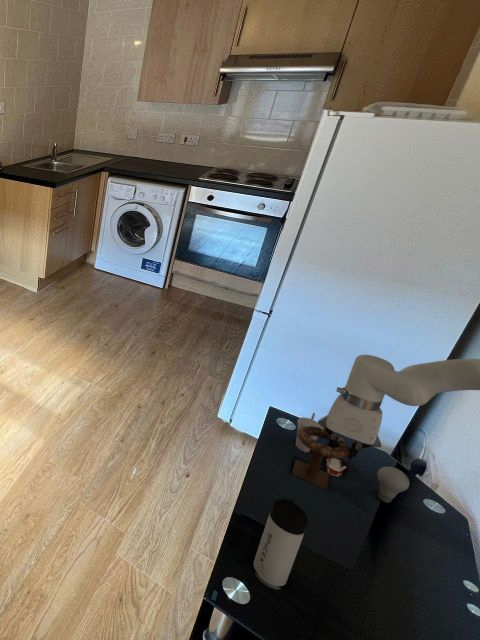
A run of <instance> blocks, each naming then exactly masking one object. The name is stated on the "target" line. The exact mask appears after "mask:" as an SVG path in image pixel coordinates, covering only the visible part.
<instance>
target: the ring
mask: <svg viewBox="0 0 480 640" xmlns="http://www.w3.org/2000/svg"><path fill="white" fill-rule="evenodd" d="M297 430H298V433H297V432H296V437H297V436H298V438H299V439H300V440H301V442H302V443H303V444H304V445H305V446H306V447H308V448H309V449H311V450H310V451H312V452H313V451H314V452H316V453H318V454H320V455H323V457H324V458H328V457H329V458H334V459H338V460H342V459H345V458H348V456H349V453H350V446H349V445H348V443H347V442H346V441H345V440H344V439H343V437H340V436H339V435H338V436H337V437H338V440H337V444H336V447H335V448H332V447H329V446H328V445H324V444H322V443H320V442H318V441H317V440H316V441H315V440H313V439H312V438H311V437H310V436H317V437H318V438H320V439H323V440H324V441H327V442H329V440H330V435H329V434H328V433H327V432H326V430H325V429H324V428H320V427H315V426H303V427H300V428H299V429H298V428H297Z"/></svg>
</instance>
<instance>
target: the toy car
mask: <svg viewBox="0 0 480 640" xmlns="http://www.w3.org/2000/svg"><path fill="white" fill-rule="evenodd" d="M324 458H325V459H324V460H325V463H326V464H325V466H326V467H325V468H324V469H325V471H326V473H328V474H329V475H331V476H334V477H336V478H339V477H341V476H342V475H343V473H344V471H345V470H346V469H348V467H347V466H346V465H343V461H342V460H341V459H334V458H329V457H324Z"/></svg>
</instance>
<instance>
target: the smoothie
mask: <svg viewBox="0 0 480 640" xmlns="http://www.w3.org/2000/svg"><path fill="white" fill-rule="evenodd" d="M315 416H316V413H315V412H312V415H311V417H310V418H309V417H304V416H303V417H298V419H297V430H296V434H297V433H298V429H299V428H300V427H303V426H315V427H320V428H323V427H322V426H320V425H319V424H318V421H317V420H315V419H314V418H315ZM323 429H324V428H323ZM310 437H311V438H312V439H313V440H315V441H316V442H317V440H318V438H319V437H317V436H310ZM295 445H296V446H297V447H298V448H299V449H300V450H299V449H298V448H297V447H296V446H295V447H296V448H297V449H298V450H299V451H301V450H302V451H301V452H303V451H304V453H310V452H311V451H312V450H311V449H309V448H308V447H306V446H305V445H304V444H303V443H302V442H301V440H300V439H299V438H298V436H297V435H296V437H295Z"/></svg>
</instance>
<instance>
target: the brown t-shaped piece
mask: <svg viewBox="0 0 480 640" xmlns="http://www.w3.org/2000/svg"><path fill="white" fill-rule="evenodd" d="M323 458H324V456H323V455H320V454H318V453H316V452H314V451H312V453H311V455H310V458H309V461H308V463H306V462H304V461H302V460H299V459H295V461H294V463H293V469H292V472H291V473H292V474H291V475H292V476H294V477H296V478H298V479H300V480H302V481H304V482H307V483H309V484H311V485H313V486H316V487H318V488H320V489H322V490H324V491H328V486H329V479H330V474H329V473H328V472H327V471H326V472H325V471H324V470H322V469H320V466H321V463H322V460H323Z"/></svg>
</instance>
